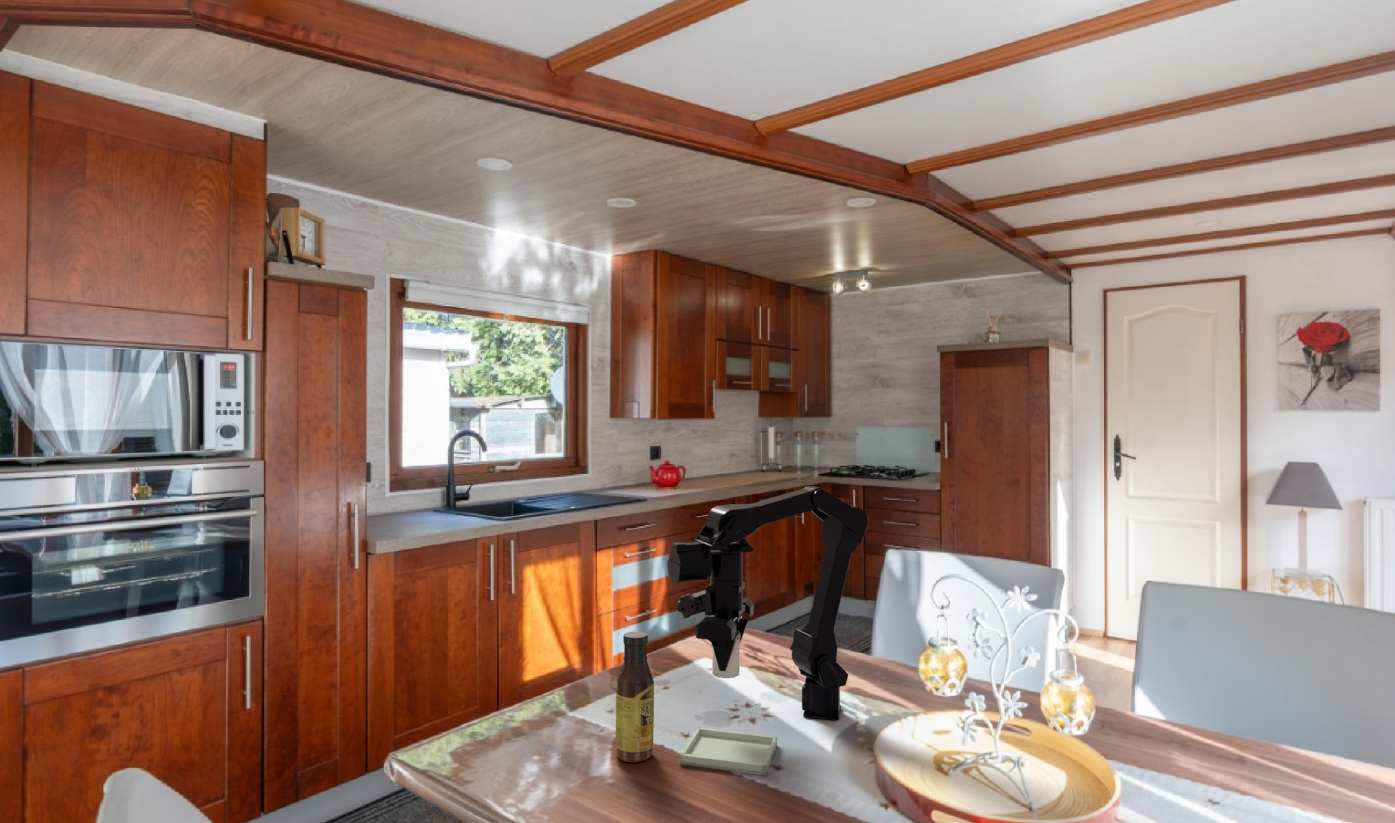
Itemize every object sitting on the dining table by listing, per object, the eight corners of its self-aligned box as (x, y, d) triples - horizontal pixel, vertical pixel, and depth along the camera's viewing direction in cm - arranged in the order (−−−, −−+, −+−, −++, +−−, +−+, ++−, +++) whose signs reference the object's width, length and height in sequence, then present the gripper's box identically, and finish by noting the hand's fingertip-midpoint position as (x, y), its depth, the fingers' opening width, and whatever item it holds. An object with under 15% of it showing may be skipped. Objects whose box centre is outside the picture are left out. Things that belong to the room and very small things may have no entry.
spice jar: (742, 670, 136) (743, 629, 136) (736, 679, 131) (736, 637, 131) (716, 667, 137) (716, 627, 137) (708, 676, 133) (708, 634, 133)
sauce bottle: (647, 766, 121) (648, 641, 121) (610, 762, 122) (610, 639, 122) (658, 748, 127) (658, 630, 127) (622, 744, 129) (622, 627, 128)
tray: (777, 745, 129) (777, 736, 129) (765, 775, 118) (765, 765, 118) (697, 735, 132) (697, 727, 132) (679, 764, 122) (679, 754, 122)
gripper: (697, 564, 145) (697, 645, 146) (666, 586, 128) (666, 679, 128) (754, 568, 142) (754, 651, 142) (730, 591, 124) (730, 686, 124)
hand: (726, 665), depth 134 cm, fingers closed on spice jar, 5 cm apart
